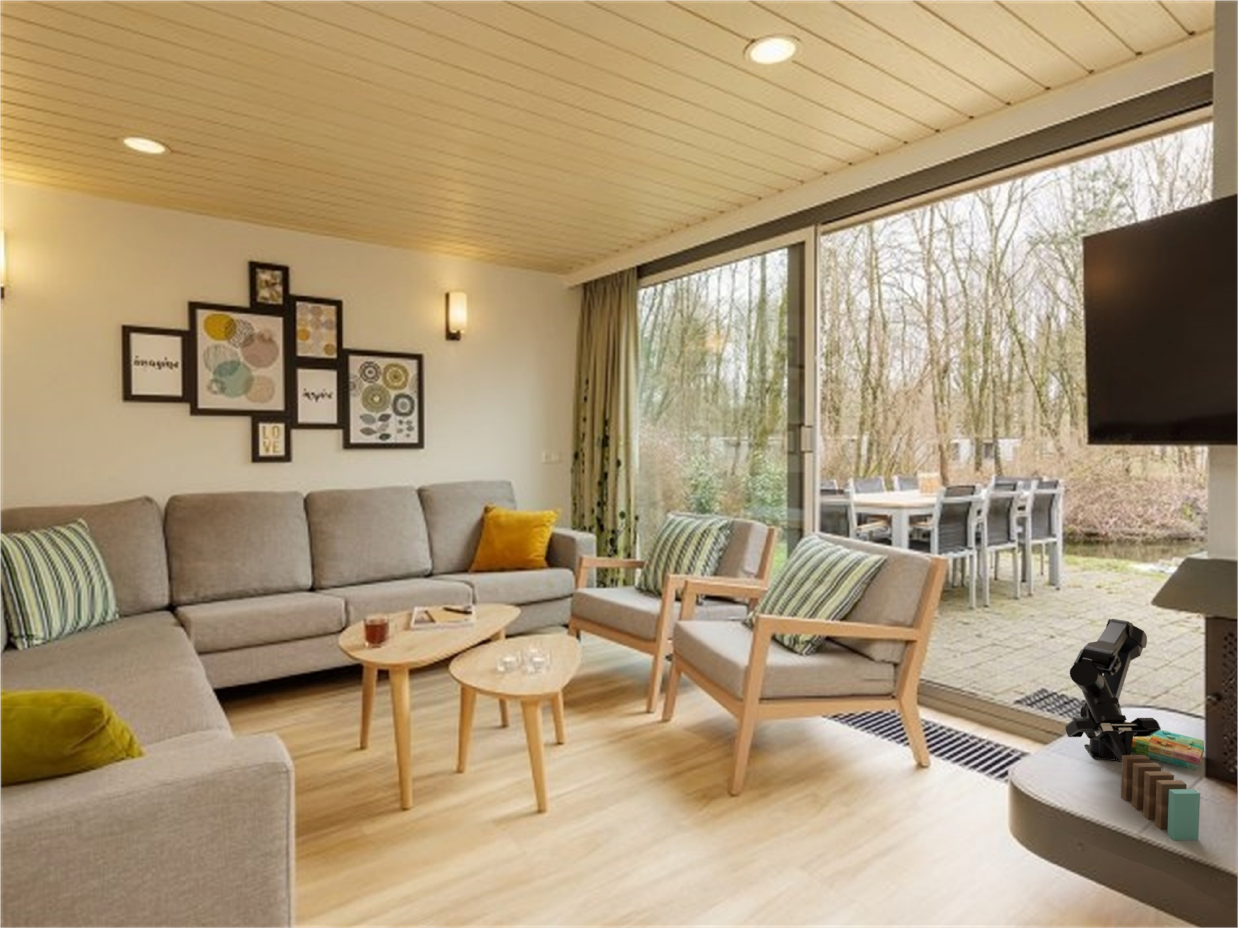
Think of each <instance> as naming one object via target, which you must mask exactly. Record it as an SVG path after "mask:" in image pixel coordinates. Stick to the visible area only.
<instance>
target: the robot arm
mask: <svg viewBox="0 0 1238 928" xmlns="http://www.w3.org/2000/svg"><path fill="white" fill-rule="evenodd" d="M1147 643H1148V636H1147V634H1146V632H1145V630H1143V629H1142V628H1139V627H1138V626H1136V625H1134V624H1133V623H1132V622H1130V621H1129V620H1128V621H1127V620H1122V619H1116V618H1111V619H1110V618H1109V619H1108V621H1107V623H1106V625H1105V629H1104V630H1103V631H1102V633H1101V635H1100V636H1099V637H1098V639H1097V640H1096V641H1092V642H1091V641H1090V642H1088V643H1087V644H1085V646H1084V647H1083V648H1081V649H1080V651H1079V652H1078V655H1077V656H1076V659H1075V660H1074V663H1073V665H1072V666H1071V668H1070V669H1069V675H1070V676H1069V677H1070V678H1071V680H1072V681H1073V683H1075V685H1076V686H1077V687H1078V688H1079V689H1080V690H1081V692H1082V694H1083V697H1084V699H1085V702H1084V704H1082V706H1081V708H1080V716H1073V717H1072V720H1071V721H1069V722H1068V723H1067V724H1066V725H1065V732H1066V734H1067V737H1068V738H1082V736H1083V735H1084V733H1085V736H1086V737H1087V738H1088V739H1089V744H1087V743H1085V744H1084V745H1083V747H1084V748H1085V749H1086V751H1087V752H1088V753H1089V755H1090V756H1091V757H1092V758H1093V759H1097V760H1098V759H1099V760H1100V759H1102V760H1111V761H1119V762H1121V763H1122V755H1132V753H1131V749H1132V741H1133V736H1134V737H1147V736H1150V735H1152V734H1153V733H1155V732H1157V731H1159V730H1162V728H1161V726H1160V723H1159V722H1158V720H1157V719H1155V718H1154V717H1136V718H1135V719H1133V720H1131V721H1130V723H1126V722H1127V717H1126V715H1124V714H1123V713H1122V709H1121V708H1122V707H1121V704H1120V702H1119V699H1120V697H1121V693H1122V690H1123V687H1124V684H1125V680H1126V678H1127V675H1128V671H1129V668H1130V664H1131V661H1133V660H1135V659H1137V658H1139V657H1141V655H1142V653H1143V649H1146V647H1147ZM1125 721H1126V722H1125Z"/></svg>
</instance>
